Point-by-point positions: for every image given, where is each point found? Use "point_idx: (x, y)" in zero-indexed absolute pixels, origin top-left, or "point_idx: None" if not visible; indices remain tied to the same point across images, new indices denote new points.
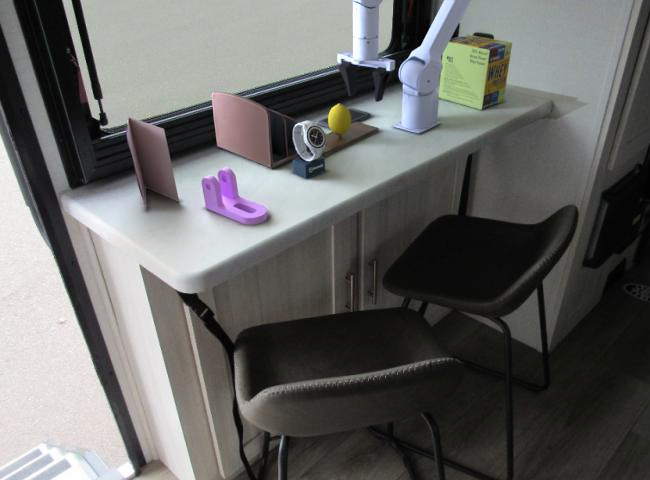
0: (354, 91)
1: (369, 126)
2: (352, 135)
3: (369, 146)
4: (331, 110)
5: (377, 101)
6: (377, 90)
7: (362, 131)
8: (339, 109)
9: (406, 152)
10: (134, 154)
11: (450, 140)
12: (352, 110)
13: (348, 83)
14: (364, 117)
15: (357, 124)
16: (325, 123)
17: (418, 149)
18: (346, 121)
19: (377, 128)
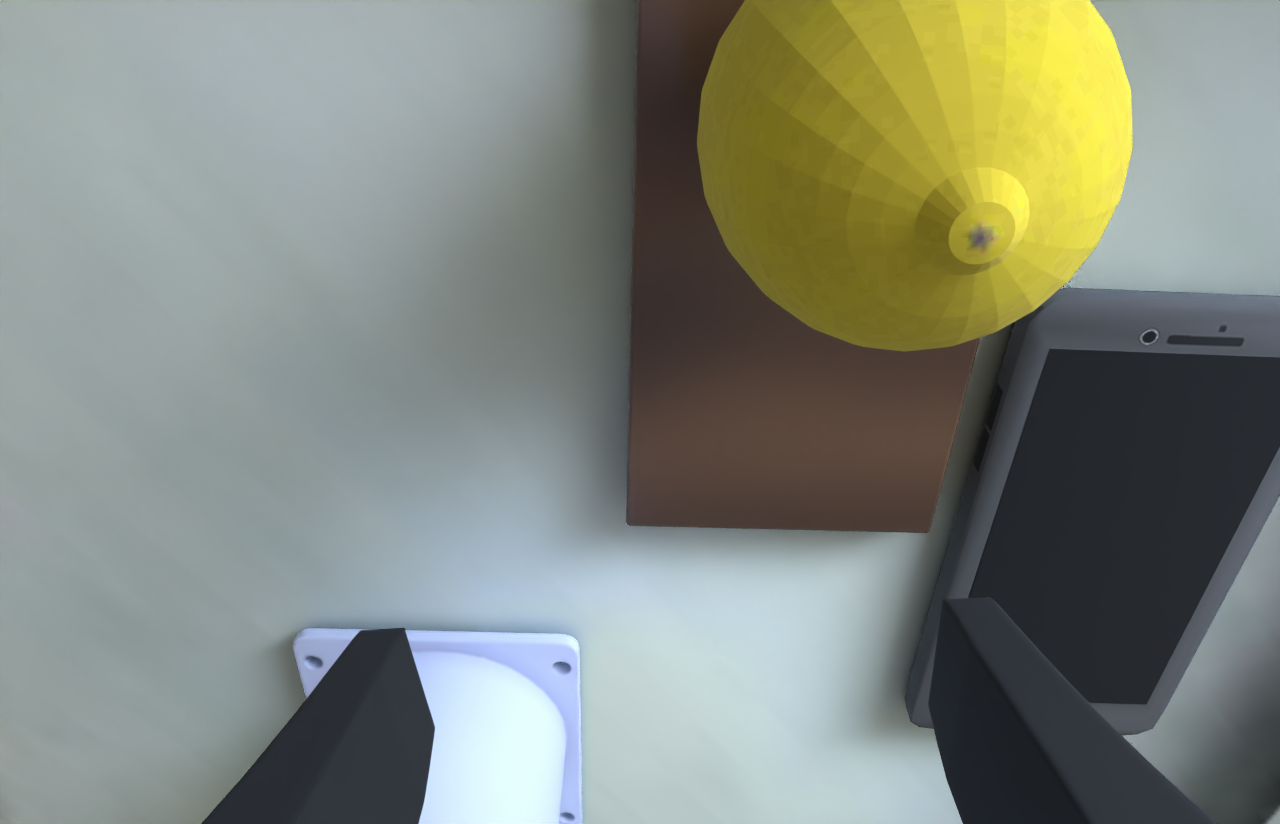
0: (946, 727)
1: (724, 504)
2: None
3: (424, 143)
4: (1072, 34)
5: (363, 633)
6: (250, 795)
7: (701, 367)
8: (885, 100)
9: (17, 251)
10: None
11: (33, 654)
12: (1107, 700)
13: (1075, 790)
14: (924, 650)
15: (868, 482)
16: (1236, 324)
17: (16, 378)
18: (709, 94)
19: (626, 508)
